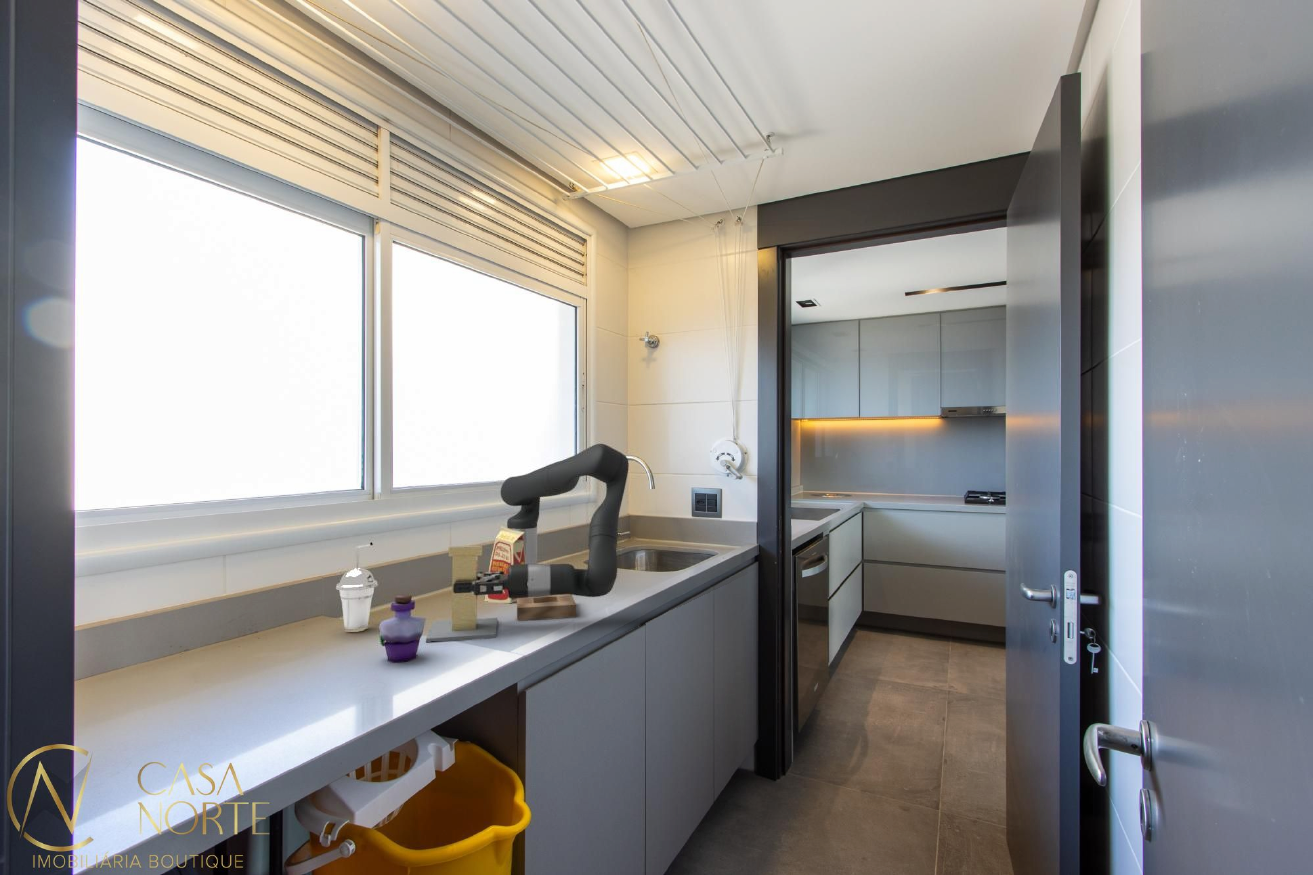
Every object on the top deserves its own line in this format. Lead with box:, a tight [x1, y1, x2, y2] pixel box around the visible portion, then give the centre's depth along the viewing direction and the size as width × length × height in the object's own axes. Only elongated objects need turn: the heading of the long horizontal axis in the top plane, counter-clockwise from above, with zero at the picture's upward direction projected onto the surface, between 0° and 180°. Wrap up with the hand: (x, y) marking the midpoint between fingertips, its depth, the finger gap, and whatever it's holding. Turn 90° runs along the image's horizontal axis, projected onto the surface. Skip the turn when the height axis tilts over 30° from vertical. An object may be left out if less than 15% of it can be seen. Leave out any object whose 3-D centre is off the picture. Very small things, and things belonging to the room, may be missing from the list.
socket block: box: [516, 594, 577, 622], centre depth 150 cm, size 14×14×3 cm
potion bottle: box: [378, 594, 427, 664], centre depth 115 cm, size 9×9×12 cm
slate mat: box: [425, 617, 498, 643], centre depth 133 cm, size 14×14×1 cm
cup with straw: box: [335, 541, 379, 629], centre depth 134 cm, size 8×9×20 cm
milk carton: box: [484, 525, 525, 604], centre depth 165 cm, size 9×9×20 cm
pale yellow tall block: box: [448, 544, 483, 631], centre depth 134 cm, size 7×5×18 cm
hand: (455, 584), depth 133 cm, fingers open, 8 cm apart
